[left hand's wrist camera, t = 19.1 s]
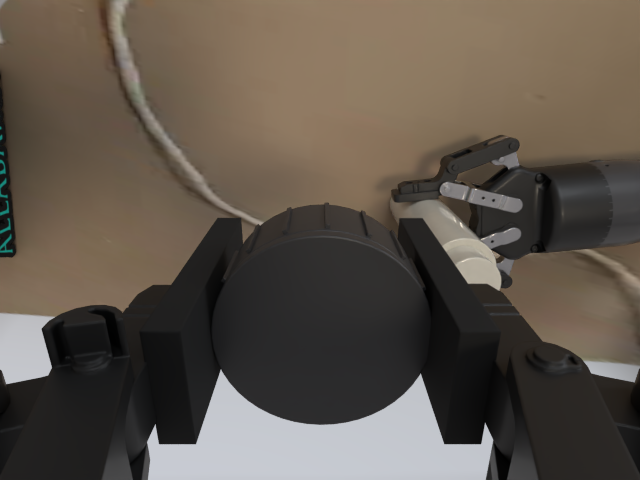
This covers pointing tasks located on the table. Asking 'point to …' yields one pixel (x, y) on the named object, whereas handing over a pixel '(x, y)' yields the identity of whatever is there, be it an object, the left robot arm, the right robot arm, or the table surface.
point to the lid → (321, 317)
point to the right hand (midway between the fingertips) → (395, 224)
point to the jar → (454, 239)
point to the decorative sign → (5, 197)
